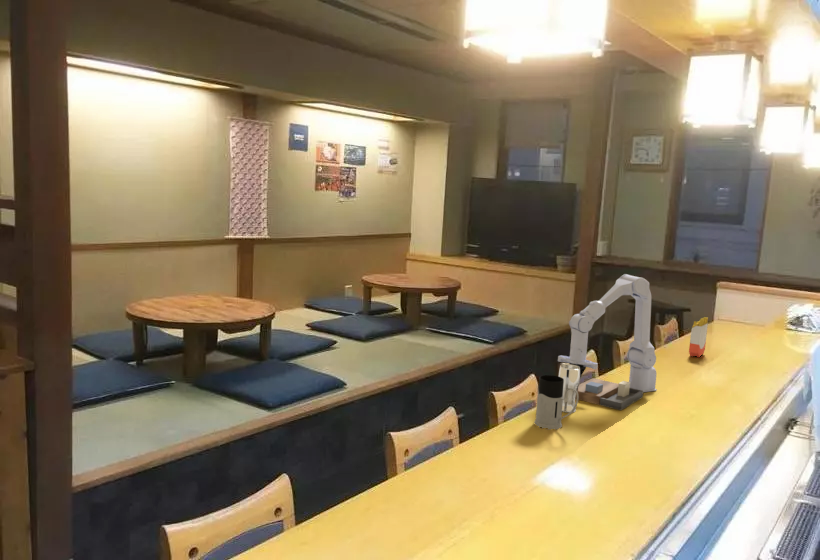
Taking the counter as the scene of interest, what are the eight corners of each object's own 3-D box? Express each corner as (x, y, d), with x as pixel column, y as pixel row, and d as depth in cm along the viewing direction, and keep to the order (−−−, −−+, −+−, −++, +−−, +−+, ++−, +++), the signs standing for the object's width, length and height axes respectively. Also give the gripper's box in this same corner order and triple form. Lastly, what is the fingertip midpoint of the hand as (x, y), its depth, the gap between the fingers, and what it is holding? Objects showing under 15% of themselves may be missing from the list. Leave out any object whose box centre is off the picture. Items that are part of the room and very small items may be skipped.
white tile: (618, 383, 246) (625, 384, 244) (623, 380, 249) (630, 382, 247) (617, 395, 246) (624, 397, 245) (622, 392, 250) (628, 394, 248)
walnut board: (568, 397, 245) (569, 389, 245) (592, 385, 260) (593, 377, 260) (599, 404, 238) (599, 396, 237) (621, 392, 253) (622, 384, 253)
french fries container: (687, 356, 312) (691, 318, 310) (694, 352, 321) (698, 314, 318) (697, 358, 310) (702, 319, 307) (704, 354, 318) (708, 316, 316)
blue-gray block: (585, 390, 243) (585, 384, 243) (590, 388, 247) (591, 381, 246) (597, 393, 240) (597, 386, 240) (602, 391, 244) (603, 384, 244)
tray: (599, 404, 238) (600, 398, 237) (622, 392, 253) (622, 386, 253) (621, 410, 233) (621, 403, 233) (642, 397, 248) (643, 390, 248)
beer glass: (577, 414, 227) (581, 370, 225) (556, 412, 228) (559, 368, 226) (576, 407, 234) (580, 364, 232) (555, 405, 235) (559, 363, 233)
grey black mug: (544, 417, 222) (547, 372, 220) (582, 430, 212) (586, 383, 210) (528, 423, 216) (531, 377, 214) (567, 436, 206) (571, 388, 204)
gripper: (555, 345, 247) (552, 382, 249) (592, 353, 238) (589, 391, 240) (564, 342, 253) (561, 378, 255) (601, 350, 244) (598, 387, 246)
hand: (575, 384), depth 248 cm, fingers closed
